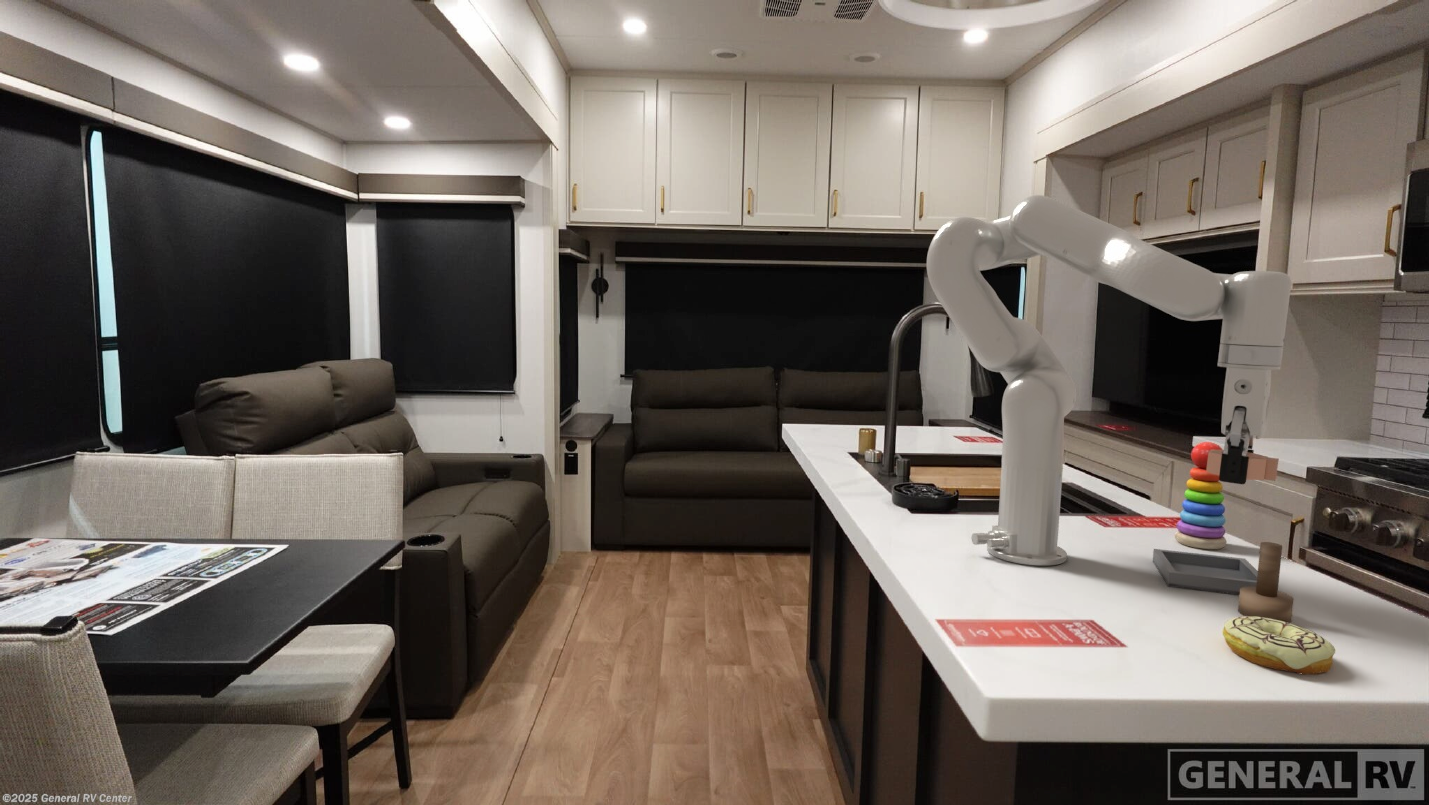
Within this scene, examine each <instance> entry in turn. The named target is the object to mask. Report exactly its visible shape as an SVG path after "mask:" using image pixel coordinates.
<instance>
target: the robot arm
mask: <svg viewBox="0 0 1429 805" xmlns="http://www.w3.org/2000/svg"><path fill="white" fill-rule="evenodd" d="M1041 255H1042V256H1044V257H1046V258H1048V259H1049V260H1051V261H1054V262H1056V263H1058V264H1060V265H1063V266H1065V267H1066V268H1069V269H1070V270H1072V271H1075V272H1076V273H1078V274H1079V275H1082V276H1084V277H1086V278H1089V279H1090V280H1093V281H1094V282H1096V283H1098V284H1099V283H1100V284H1104V285H1108V286H1110V287H1113V288H1114V289H1117V290H1119V291H1121V292H1123V293H1125V294H1127V295H1128V296H1131V297H1133V298H1135V299H1137V300H1140V301H1142V302H1144V303H1146V304H1147V305H1150V306H1152V307H1154V308H1156V309H1158V310H1160V311H1162V312H1164V313H1166V314H1169V315H1171V316H1172V317H1175V318H1177V319H1179V320H1184V321H1188V322H1189V321H1190V322H1200V321H1210V320H1211V321H1212V320H1222V323H1221V324H1222V325H1221V333H1220V343H1219V352H1218V359H1217V367H1220V368H1226V371H1225V379H1224V387H1223V398H1222V408H1221V409H1222V410H1221V424H1220V426H1221V431H1220V432H1221V434H1222V435H1224V436H1225V441H1224V446H1223V450H1224V452H1223V453H1222V457H1221V465H1220V474H1219V482H1222V483H1230V484H1237V485H1245V484H1246V482H1247V480H1246V478H1247V470H1248V462H1249V457H1247V452H1249V453H1254V449H1253V446H1254V436H1255V439H1256V440H1259V439H1261V438H1263V437H1264V436H1265V434H1266V431H1267V420H1268V411H1269V404H1270V395H1271V387H1272V386H1271V385H1272V371H1281V367H1282V360H1283V354H1284V353H1283V352H1284V345H1285V344H1284V343H1285V337H1286V336H1285V335H1286V329H1287V322H1288V320H1287V319H1288V311H1289V304H1290V296H1291V289H1292V280H1291V277H1290V276H1289V275H1288V274H1287V273H1286V272H1282V271H1272V270H1270V271H1269V270H1249V271H1247V270H1246V271H1245V270H1244V271H1238V272H1236V273H1233V274H1228V273H1218V272H1217V273H1216V272H1213V271H1210V269H1207V268H1205V267H1202V266H1201V265H1198V264H1195V263H1193V262H1191V261H1189V260H1187V259H1184V258H1182V257H1181V256H1180V257H1179V256H1177V255H1176V254H1173V253H1171V252H1168V251H1166V250H1164V249H1162V248H1159V247H1157V246H1155V245H1153V244H1150V243H1149V242H1146V241H1144V240H1142V239H1140V238H1138V237H1136V236H1135V235H1133V234H1132V233H1130V232H1129V231H1127V230H1124V229H1122V228H1120V227H1119V226H1116V225H1114V224H1111V223H1109V222H1106V221H1104V220H1103V219H1100V218H1097V217H1096V216H1093V215H1091V214H1089V213H1087V212H1084V211H1082V210H1080V209H1077V208H1075V207H1073V206H1071V205H1068V204H1066V203H1065V202H1062V201H1059V200H1057V199H1055V198H1053V197H1050V196H1047V195H1042V194H1041V195H1039V194H1036V195H1032V196H1031V195H1030V196H1028V197H1026V198H1024V199H1022V200H1021V201H1020V202H1019V203H1018V204H1017V205H1016V206H1015V207H1014V208H1013V210H1012V212H1011V214H1010V215H1007V216H1003V217H1000V218H996V219H993V220H990V221H987V222H985V221H983V220H980V219H977V218H976V217H970V216H969V217H968V216H961V217H956V218H953V219H951V220H948V221H946V222H945V223H944V224H943V225H942V226H941V227H939V229H938V230H937V231H936V233H935V234H934V236H933V238H932V240H931V242H930V245H929V247H928V251H927V256H926V273H927V278H928V282H929V284H930V287H931V289H932V291H933V294H935V296H936V299H937V300H938V302H939V304H940V305H941V306H942V308H943V310H944V311H945V312H946V314H947V315H948V317H949V318H950V320H951V321H952V324H954V326H955V328H956V330H957V331H958V332H959V334H960V335H961V338H962V339H963V341H965V344H966V345H967V346H968V347H969V349H970V351H971V352H972V355H973V356H974V358H975V359H976V361H977V362H978V364H979V365H980V366H982V367H983V368H985V369H986V370H988V371H991V372H995V373H999V374H1001V375H1002V377H1003V379H1004V380H1005V381H1006V383H1007V386H1006V388H1005V390H1004V392H1003V396H1002V401H1001V420H1002V421H1001V422H1002V446H1001V447H1002V449H1001V451H1002V453H1001V471H1000V485H999V486H1000V489H999V504H998V506H999V507H998V520H997V525H991V530H989V531H988V532H987V533H985V532H974V533H972V535H971V537H970V538H971V543H972V544H973V545H975V546H978V545H985V544H986V551H987V552H988V553H989V554H990V555H992V556H993V557H994V558H998V559H1000V560H1003V561H1007V562H1011V563H1015V564H1021V565H1027V566H1028V565H1029V566H1038V567H1040V566H1043V567H1044V566H1057V565H1060V564H1063V563H1065V562H1066V561H1067V557H1068V556H1067V555H1068V553H1067V551H1066V550H1065V549H1063V548H1062V547H1061V546H1058V540H1059V527H1060V525H1059V524H1060V516H1061V515H1060V513H1061V500H1062V499H1061V498H1062V485H1063V469H1064V467H1063V465H1064V451H1065V449H1064V447H1065V446H1064V445H1065V437H1064V436H1065V433H1064V431H1065V430H1064V428H1065V422H1064V421H1065V417H1066V416H1067V415H1069V413H1071V412H1072V410H1073V409H1074V407H1075V405H1076V402H1077V396H1078V394H1077V387H1076V384H1075V382H1074V380H1073V379H1072V377H1071V375H1070V374H1069V372H1068V370H1067V369H1066V368H1065V367H1064V365H1063V364H1062V363H1061V361H1060V360H1059V358H1058V357H1057V355H1056V354H1055V352H1054V351H1053V349H1052V348H1051V347H1050V345H1049V344H1048V342H1047V341H1046V339H1045V338H1044V336H1042V334H1041V333H1040V332H1039V330H1038V329H1037V328H1036V327H1035V326H1034V325H1032V323H1030V322H1029V321H1028V320H1025V319H1023V318H1019V317H1015V316H1013V315H1012V314H1011V312H1010V311H1009V310H1008V309H1007V307H1006V306H1005V305H1004V303H1003V302H1002V300H1001V299H1000V298H999V296H998V295H997V293H996V291H995V290H994V288H993V287H992V286H991V285H990V284H989V282H988V281H987V280H986V279H985V278H984V275H983V274H982V273H981V271H987V270H992V269H996V268H999V267H1003V266H1007V265H1009V264H1014V263H1016V262H1019V261H1024V260H1029V259H1032V258H1035V257H1038V256H1041Z"/></svg>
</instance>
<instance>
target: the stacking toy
mask: <svg viewBox="0 0 1429 805" xmlns="http://www.w3.org/2000/svg"><path fill="white" fill-rule="evenodd" d="M1210 450H1223V448H1222V447H1221V446H1220V445H1219V444H1217V443H1215V442H1211V441H1210V442H1209V441H1204V442H1199V443H1198V444H1196V445H1195V446H1194V447H1193V448H1192V450H1191V454H1190V456H1191V457H1190V458H1191V460H1192V463H1193V464H1194V465H1195V467H1192V468H1191V469H1190V471H1189V475H1190V479H1188V480H1187V481H1186V482H1185V483H1186V487H1187V489H1186V490H1185V491H1184V497H1185V498H1186V499H1184V500H1183V502H1182V504H1181V507H1182V510H1181V512H1180V513H1179V517H1180V518H1179V519H1180V520H1178V521H1177V523H1176V528H1177V531H1176V532H1175V533H1174V539H1175V540H1176V542H1178V543H1180V544H1181V545H1184V546H1187V547H1192V548H1197V549H1202V550H1220V549H1223V548H1224V547H1226V546H1227V540H1226V538H1225V537H1224V536H1225V534H1226V529H1225V527H1224V525H1225V524H1226V521H1227V520H1226V517H1225V516H1224V513H1225V511H1226V508H1225V505H1224V504H1222V503H1223V502H1224V500H1225V496H1224V494H1223V493H1222V490H1223V489H1224V486H1223V484H1222V483H1221V481H1220V480H1219V475H1215V474H1212V473H1209V472H1206V469H1207V461H1208V453H1209V451H1210Z"/></svg>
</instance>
